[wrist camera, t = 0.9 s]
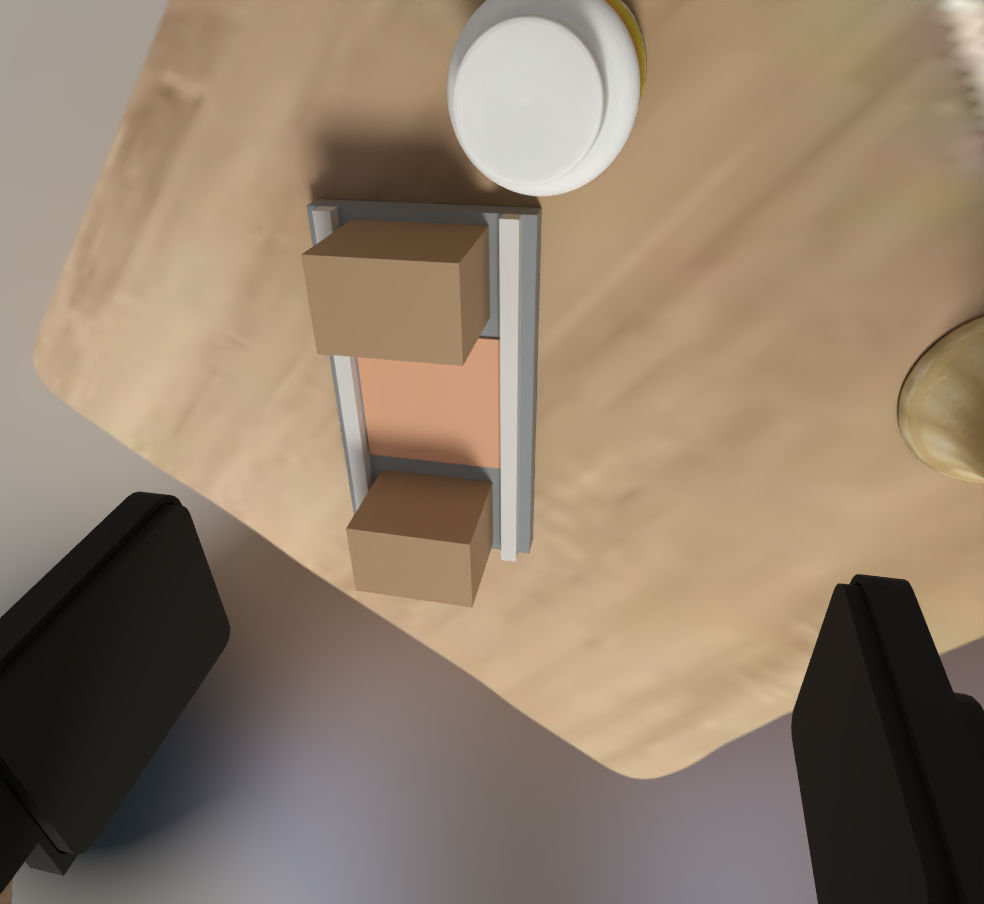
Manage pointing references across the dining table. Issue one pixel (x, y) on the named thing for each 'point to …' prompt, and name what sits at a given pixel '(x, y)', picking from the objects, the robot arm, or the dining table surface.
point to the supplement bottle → (546, 90)
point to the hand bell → (948, 405)
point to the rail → (430, 384)
